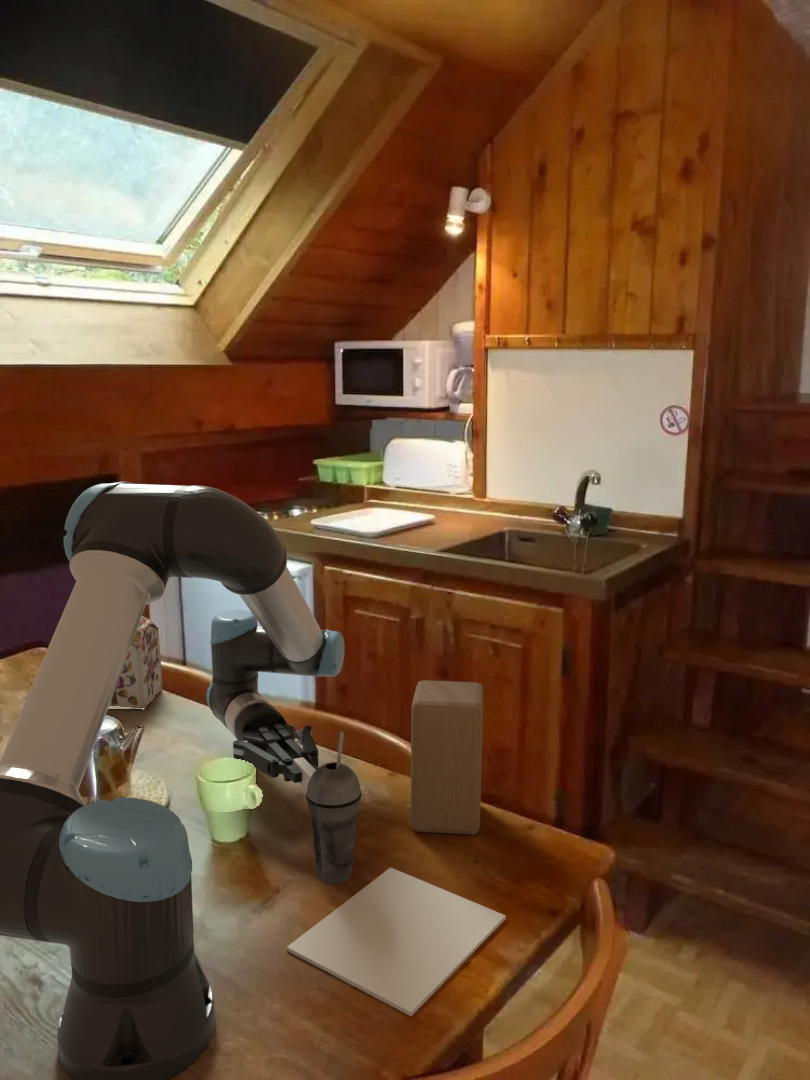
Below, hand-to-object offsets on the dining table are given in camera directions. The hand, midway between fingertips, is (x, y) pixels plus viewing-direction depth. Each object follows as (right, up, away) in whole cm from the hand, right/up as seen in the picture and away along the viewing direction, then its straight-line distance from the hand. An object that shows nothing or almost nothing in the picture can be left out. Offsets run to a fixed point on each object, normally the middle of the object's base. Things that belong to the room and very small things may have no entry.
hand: (316, 785), depth 119 cm
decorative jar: (-44, +1, +56) cm, 71 cm away
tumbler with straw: (+3, -11, -3) cm, 12 cm away
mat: (+11, -13, -15) cm, 23 cm away
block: (+18, -8, +11) cm, 23 cm away
